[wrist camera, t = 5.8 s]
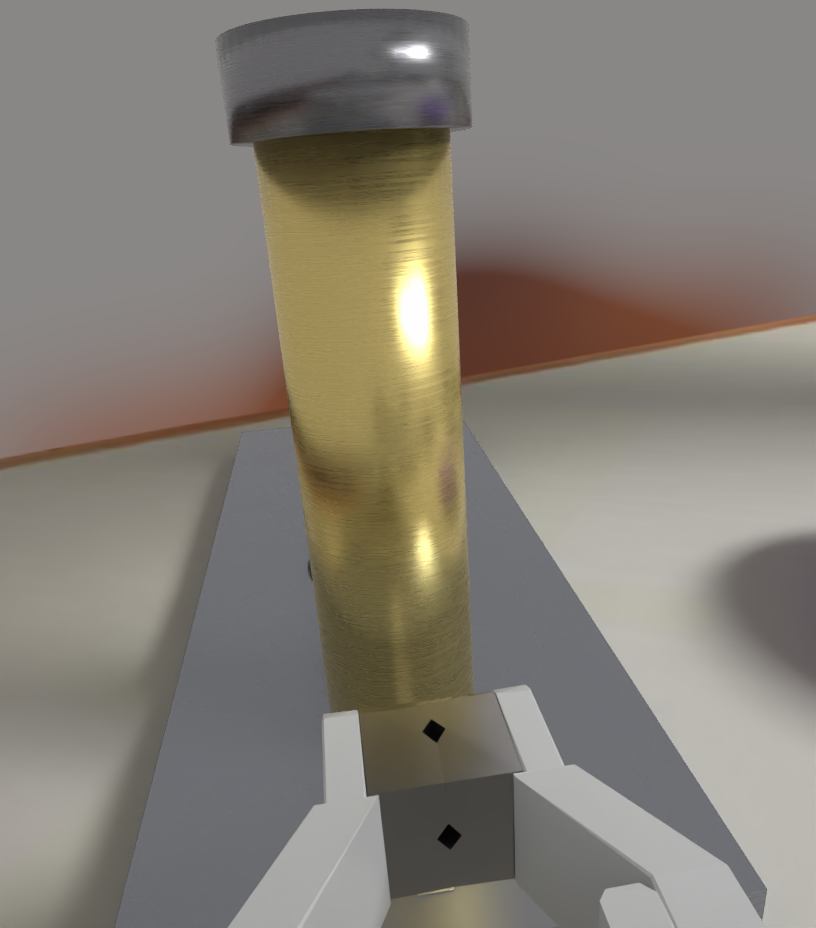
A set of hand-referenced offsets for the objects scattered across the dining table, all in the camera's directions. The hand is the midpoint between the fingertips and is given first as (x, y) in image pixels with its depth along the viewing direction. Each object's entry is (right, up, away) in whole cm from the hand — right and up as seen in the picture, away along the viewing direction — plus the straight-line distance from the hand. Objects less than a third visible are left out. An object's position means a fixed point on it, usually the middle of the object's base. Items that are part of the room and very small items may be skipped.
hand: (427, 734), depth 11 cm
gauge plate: (-1, 0, +16) cm, 17 cm away
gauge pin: (0, -2, +8) cm, 8 cm away
